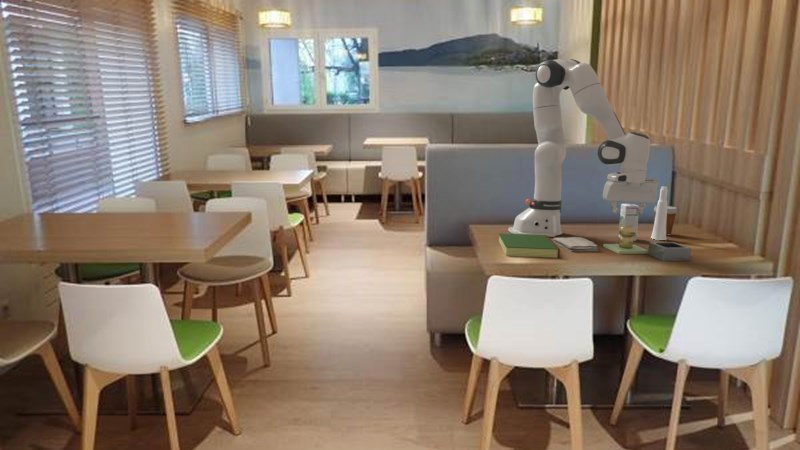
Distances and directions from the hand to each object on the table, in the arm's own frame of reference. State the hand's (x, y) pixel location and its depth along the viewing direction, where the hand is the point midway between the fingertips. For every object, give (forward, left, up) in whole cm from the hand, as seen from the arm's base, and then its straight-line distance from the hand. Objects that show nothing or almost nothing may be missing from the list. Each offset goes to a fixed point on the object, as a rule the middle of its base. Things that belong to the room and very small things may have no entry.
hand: (627, 213), depth 222 cm
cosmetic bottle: (+25, +18, -14) cm, 34 cm away
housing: (+10, -13, -14) cm, 21 cm away
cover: (0, -1, -13) cm, 13 cm away
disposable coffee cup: (+33, +28, -14) cm, 46 cm away
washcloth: (-17, +5, -15) cm, 23 cm away
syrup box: (+11, +18, -14) cm, 26 cm away
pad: (0, -1, -14) cm, 14 cm away
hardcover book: (-38, +2, -15) cm, 40 cm away
